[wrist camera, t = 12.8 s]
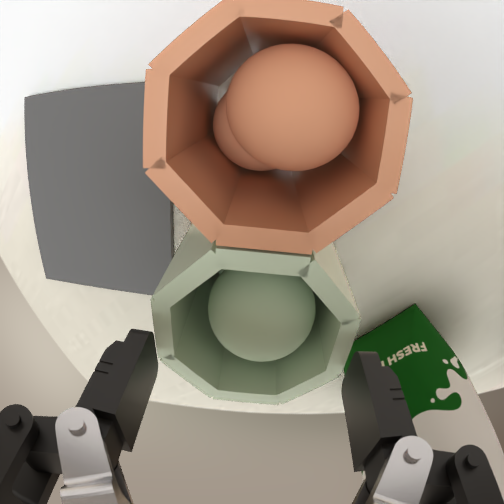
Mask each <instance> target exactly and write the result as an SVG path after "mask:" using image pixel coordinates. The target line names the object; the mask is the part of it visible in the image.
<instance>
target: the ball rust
mask: <svg viewBox="0 0 504 504" xmlns="http://www.w3.org/2000/svg"><path fill="white" fill-rule="evenodd" d="M226 115H227V120H228V124H229V127H230V130H231V132H232V134H233V136H234V138H235V139H236V141H237V142H238V143H239V145H240V146H241V147H242V148H243V149H244V150H245V151H246V152H247V153H248V154H249V155H250V156H251V157H253V158H254V159H255V160H257V161H259V162H261V163H263V164H264V165H267V166H269V167H272V168H275V169H279V170H285V171H305V170H309V169H314V168H317V167H319V166H322V165H324V164H326V163H328V162H330V161H331V160H333V159H334V158H335V157H337V156H338V155H339V154H340V153H341V152H342V151H343V150H344V149H345V148H346V147H347V145H348V144H349V142H350V141H351V139H352V137H353V135H354V133H355V130H356V128H357V124H358V120H359V99H358V94H357V91H356V88H355V85H354V83H353V81H352V79H351V77H350V76H349V74H348V73H347V71H346V70H345V69H344V67H343V66H342V65H341V64H340V63H339V62H338V61H337V60H335V59H334V58H333V57H331V56H330V55H328V54H327V53H325V52H323V51H321V50H319V49H316V48H314V47H311V46H307V45H302V44H279V45H275V46H271V47H268V48H265V49H263V50H261V51H259V52H257V53H255V54H254V55H252V56H251V57H250V58H248V59H247V60H246V61H245V62H244V63H243V64H242V65H241V66H240V67H239V68H238V70H237V71H236V73H235V74H234V76H233V78H232V80H231V82H230V85H229V87H228V91H227V96H226Z"/></svg>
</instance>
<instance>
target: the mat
mask: <svg viewBox="0 0 504 504" xmlns="http://www.w3.org/2000/svg"><path fill="white" fill-rule="evenodd" d="M144 93H145V82H141V83H125V84H113V85H102V86H93V87H84V88H76V89H69V90H63V91H56V92H50V93H45V94H39V95H34V96H29V97H25V143H26V158H27V170H28V180H29V189H30V196H31V204H32V210H33V217H34V223H35V228H36V234H37V239H38V244H39V249H40V254H41V258H42V263H43V267H44V271H45V275H46V278H47V279H52V280H58V281H63V282H69V283H75V284H81V285H87V286H93V287H99V288H106V289H112V290H119V291H126V292H133V293H140V294H147V295H153V294H154V292H155V290H156V288H157V286H158V284H159V283H160V281H161V279H162V277H163V275H164V273H165V271H166V270H167V268H168V266H169V264H170V262H171V260H172V259H173V257H174V242H173V202H172V201H171V200H170V199H169V198H168V197H167V196H166V195H165V194H164V193H163V192H162V191H161V190H160V189H159V187H158V186H157V185H156V184H155V183H154V182H153V181H152V180H151V179H150V178H149V177H148V176H147V175H146V174H145V172H146V171H147V170H148V169H149V168H143V118H144Z"/></svg>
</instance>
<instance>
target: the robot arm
mask: <svg viewBox="0 0 504 504" xmlns="http://www.w3.org/2000/svg"><path fill="white" fill-rule="evenodd" d="M157 371H158V360H157V354H156V347H155V340H154V334H153V332H149V331H143V330H137V329H131V330H130V331H129V333H128V335H127V337H126V339H125V341H124V342H121V341H115V342H114V343H113V344H111V345H110V346H109V347H108V348H107V349H106V350H105V351H104V353H103V355H102V357H101V359H100V362H99V363H98V364H97V366H96V368H95V372H93V374H92V376H91V378H90V380H89V382H88V384H87V386H86V387H85V390H84V392H83V393H82V395H81V398H80V400H79V401H78V403H77V405H76V406H75V407H73V408H69V409H67V410H65V411H64V412H62V413H61V414H60V415H59V416H58V417H46V416H44V417H43V416H33V415H32V414H31V412H30V411H29V410H28V409H27V408H26V407H24V406H22V405H18V404H14V405H9V406H7V407H6V408H4V409H3V410H2V411H1V412H0V504H47V502H48V500H49V497H50V495H51V493H52V490H53V488H54V486H55V484H56V482H57V479H58V477H59V475H60V474H63V478H64V486H63V487H61V491H60V493H61V499H62V504H134V503H133V500H132V498H131V495H130V492H129V489H128V487H127V484H126V481H125V478H124V475H123V472H122V469H121V466H120V463H119V460H118V459H119V456H120V453H121V450H125V451H129V452H132V449H133V446H134V443H135V440H136V437H137V433H138V430H139V427H140V424H141V421H142V418H143V415H144V412H145V409H146V406H147V403H148V400H149V397H150V395H151V392H152V389H153V386H154V383H155V380H156V377H157ZM401 389H402V388H401V385H400V382H399V379H398V376H397V375H396V374H395V373H394V372H393V371H392V369H391V368H390V367H389V366H382V364H381V361H380V358H379V355H378V353H377V352H363V351H356V352H355V353H354V355H353V357H352V360H351V362H350V365H349V367H348V370H347V372H346V374H345V377H344V379H343V383H342V399H343V405H344V410H345V416H346V422H347V428H348V434H349V440H350V446H351V453H352V459H353V467H354V472H357V471H365V475H366V478H365V480H364V481H363V483H362V485H361V487H360V489H359V491H358V492H357V494H356V496H355V498H354V500H353V502H352V504H504V500H503V497H502V495H501V492H500V489H499V486H498V484H497V481H496V479H495V476H494V474H493V471H492V469H491V466H490V464H489V461H488V459H487V456H486V454H485V453H484V451H483V450H482V449H481V448H479V447H477V446H475V445H464V446H462V447H461V448H460V449H459V450H458V451H457V452H456V453H453V452H446V451H439V450H434V449H432V448H431V446H430V445H429V444H428V443H427V442H426V441H425V440H424V439H422V438H420V437H418V436H417V434H416V431H415V427H414V424H413V421H412V418H411V415H410V412H409V409H408V406H407V403H406V400H405V397H404V394H403V391H402V390H401Z"/></svg>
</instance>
